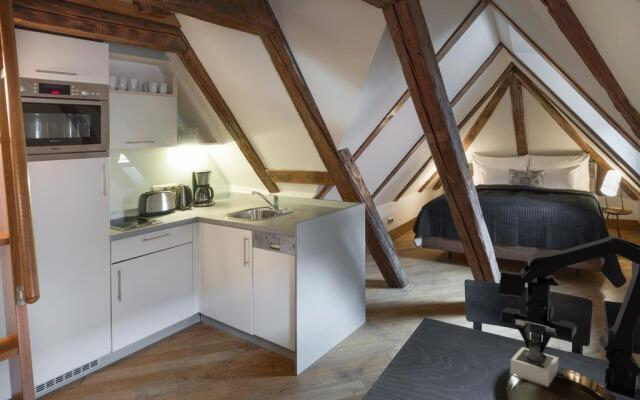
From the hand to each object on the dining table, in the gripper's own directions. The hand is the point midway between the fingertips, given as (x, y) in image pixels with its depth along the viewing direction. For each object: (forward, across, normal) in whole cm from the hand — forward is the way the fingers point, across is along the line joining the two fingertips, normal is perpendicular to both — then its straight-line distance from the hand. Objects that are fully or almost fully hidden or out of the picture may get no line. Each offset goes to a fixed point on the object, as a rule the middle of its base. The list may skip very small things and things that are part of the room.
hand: (535, 350), depth 123 cm
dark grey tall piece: (+5, 0, 0) cm, 5 cm away
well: (+7, 0, 0) cm, 7 cm away
